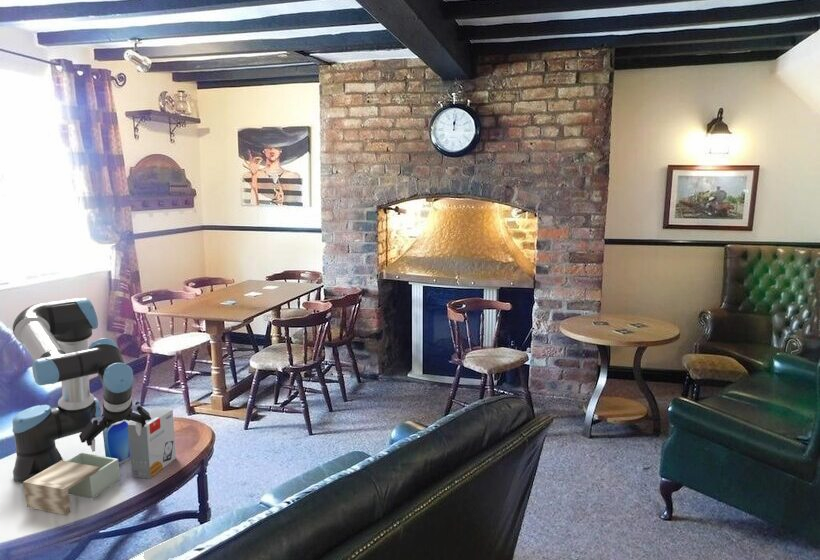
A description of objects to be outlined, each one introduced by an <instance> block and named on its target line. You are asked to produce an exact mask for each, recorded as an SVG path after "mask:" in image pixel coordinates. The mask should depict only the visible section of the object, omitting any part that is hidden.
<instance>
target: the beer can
mask: <svg viewBox="0 0 820 560" xmlns="http://www.w3.org/2000/svg"><path fill="white" fill-rule="evenodd" d="M128 424H129V423H128V421H127V420H123V421H120V422H117V423H114V424H112V425H110V426H109V427H108V428H105V429H104V430H103V431H102V439H103V444H104V455H105V456H104V457H110V458H116V459H118V461H119V465H122V464H124V463H127V462H128V461H129V459H130V448H129V436H128Z"/></svg>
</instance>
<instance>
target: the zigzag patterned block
mask: <svg viewBox="0 0 820 560" xmlns="http://www.w3.org/2000/svg"><path fill="white" fill-rule="evenodd" d="M98 470H100V469H99V467H97V466H91V465H86V464H80V463H74V462H68V460H63V461H62V460H61V461H60V462H58V463H56V464H54V465H52V466H51V467H49V468H47V469H45V470H43V471H42V472H40V473H38V474H36V475H35V476H33V477H31V478H29V479H27V480H26V481H24V482H22V483H23V491H24V497H25V504H26V508H30V509H35V510H41V511H45V512H49V513H53V514H54V513H55V514H60V515H64V516H68V514H70V513H71V511H72V510H71V503H70V494H68V489H69V488H71V487H73V486H74V485H76V484H77V483H79V482H81V481H82V480H84V479H85V478H87V477H89V476H90V475H92V474H93V473H95V472H97V471H98Z"/></svg>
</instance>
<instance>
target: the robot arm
mask: <svg viewBox="0 0 820 560" xmlns="http://www.w3.org/2000/svg"><path fill="white" fill-rule="evenodd" d="M98 327H99V321H98V316H97V313H96V309H95V307H94V305H93V303H92V302H91V300H90V299H89V298H87V297H80V298H79V297H77V298H75V297H74V298H70V299H69V298H68V299H62V300H56V301H55V300H54V301H47V302H40V303H36V304H33V305H31V306H28V307H26V308H25V309H23V310H22V311H21V312H20V313H19V314H18V315H17V316H16V318H15V319H14V321H13V323H12V333H13V335H14V337H15V339H16V340H17V341H18V342H20V343H21V344H23V345H24V346H25V348H26V349H27V351H28V352H29V354H30V355H31V357H32V359H34V360H33V361H32V364H31V369H32V376H33V378H34V382H35V383H36V384H37V385H38V386H46V385H54V384H57V383H61V394H62V396H61V397H60V398H59V399H58V401H57V406H54V407H51V406H50V405H49V404H41V405H40V404H38V405H34V406H31V407H27V408H25V409H23V410H22V411H20V412H19V413H17V414H16V415H15V416H14V417H13V419H12V421H11V422H12V433H13V437H14V445H15V453H16V458H15V463H14V467H13V470H12V475H13V480H15V481H16V482H20V483H23V482H24V481H26V480H27V479H29V478H31V477H33V476H35V475H36V474H38V473H40V472H42V471H43V470H45V469H47V468H49V467H51V466H52V465H54V464H56V463H58V462H60V461H61V460H62V461H64V458H63V456H62V455H61V453H60V452H59V449H58V448H57V446H56V440H59V439H63V438H65V437H66V438H67V437H69V436H73V435H76V434H79V433H80V434H79V435H78V436H79V439H80V443H86V445H87V447H90V449H91V452H92V453H94V452H96V438H97V436H99V435H100V434H101V433H103V430H104V429H105V428H108V427H109V426H110V425H112V424H114V423H117V422H120V421H123V420H125V421H127V422H130V421H131V422H133V421H135V422H136V432H137V434H138V436H140V435H141V428H142V427H144V425H145V424H146V422H145V421H146V420H151V417H150V415H149V413H148V411H147V410H146V409H145V408H144V407H143V406H142V405H141V402H139V401H136V402H135V403H134V405H132V406H131V399H132V398H133V397H132V396H133V384H134V379H135V377H134V371H133V369H132V367H131V366H130V365H128V364H127V363H126V362H125V360H124V359H123V355H122V353H121V350H120V348H119V347H118V344H117V343H116V342H115V340H113V339H112V338H109V337H102V338H98V339H97V340H94V341H92V342H91V343H90V344H89V343H88V341H89V339H90V338H91V337H92V336H93V330H95V329H98ZM88 344H89V345H88ZM95 374H97V375H98V378H99V380H100V382H101V384H102V388H103V396H102V397H103V398H102V399H103V401H102V411H101V403H100V401H99V399H98V397H96V396H94V394H93V393H91V392H90V376H92V375H95ZM132 400H133V399H132ZM133 411H134V412H133Z"/></svg>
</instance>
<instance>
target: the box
mask: <svg viewBox="0 0 820 560" xmlns="http://www.w3.org/2000/svg"><path fill="white" fill-rule="evenodd" d="M67 461H68V462H74V463H80V464H86V465H91V466H97V467H99V469H100V470H98V471H97V472H95V473H93V474H92V475H90V476H89V477H87V478H85V479H84V480H82V481H81V482H79V483H77V484H76V485H74V486H73V487H71V488H69V489H68V494H69V496H75V497H76V496H77V497H81V498H87V499H91V500H93V499H94V498H96V497H98V496H99V495H100V494H102V493H104V491H106V490H108V489H110V488H111V487H112V486H114V485H115V484H117V483H118V482H119V481H121V472H120V464H119V461H118V459H116V458H110V457H106V456H104V455H102V456H101V455H96V454H91V453H85V452H81V453H79V454H77V455H75V456H73V457H72V458H70V459H68V460H67Z"/></svg>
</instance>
